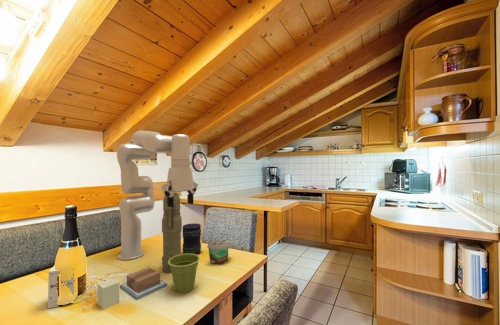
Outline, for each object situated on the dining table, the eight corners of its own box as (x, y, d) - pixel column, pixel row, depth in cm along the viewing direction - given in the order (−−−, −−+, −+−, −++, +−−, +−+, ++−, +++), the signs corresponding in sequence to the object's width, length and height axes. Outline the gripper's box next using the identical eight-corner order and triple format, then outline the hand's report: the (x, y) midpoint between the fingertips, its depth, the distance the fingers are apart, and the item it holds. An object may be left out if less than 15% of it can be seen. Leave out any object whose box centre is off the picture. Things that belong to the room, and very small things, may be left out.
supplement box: (47, 309, 77) (47, 271, 77) (55, 298, 84) (55, 263, 84) (74, 304, 80) (74, 267, 80) (80, 293, 87) (80, 259, 87)
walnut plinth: (126, 285, 90) (126, 275, 90) (148, 276, 97) (148, 267, 97) (137, 292, 84) (137, 281, 85) (160, 283, 92) (160, 272, 92)
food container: (214, 268, 107) (214, 246, 107) (207, 264, 111) (207, 243, 112) (235, 260, 115) (235, 240, 115) (228, 257, 120) (227, 237, 120)
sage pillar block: (97, 304, 80) (97, 283, 80) (113, 297, 84) (113, 278, 84) (103, 309, 76) (103, 288, 77) (119, 302, 80) (119, 282, 81)
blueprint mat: (119, 287, 90) (119, 284, 90) (149, 275, 100) (149, 273, 100) (136, 299, 82) (136, 296, 82) (167, 285, 91) (167, 283, 91)
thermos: (160, 276, 100) (160, 195, 100) (163, 265, 111) (162, 192, 112) (182, 273, 102) (181, 194, 103) (182, 262, 113) (181, 191, 114)
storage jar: (178, 254, 125) (178, 226, 125) (192, 248, 133) (192, 222, 133) (191, 257, 119) (190, 229, 120) (204, 252, 127) (204, 224, 128)
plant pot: (164, 287, 90) (164, 258, 91) (193, 278, 97) (192, 251, 98) (174, 300, 81) (173, 268, 81) (205, 289, 88) (204, 260, 88)
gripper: (191, 164, 105) (192, 201, 105) (156, 164, 92) (156, 207, 91) (202, 164, 101) (202, 203, 100) (167, 164, 87) (167, 209, 87)
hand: (180, 205), depth 96 cm, fingers open, 9 cm apart
